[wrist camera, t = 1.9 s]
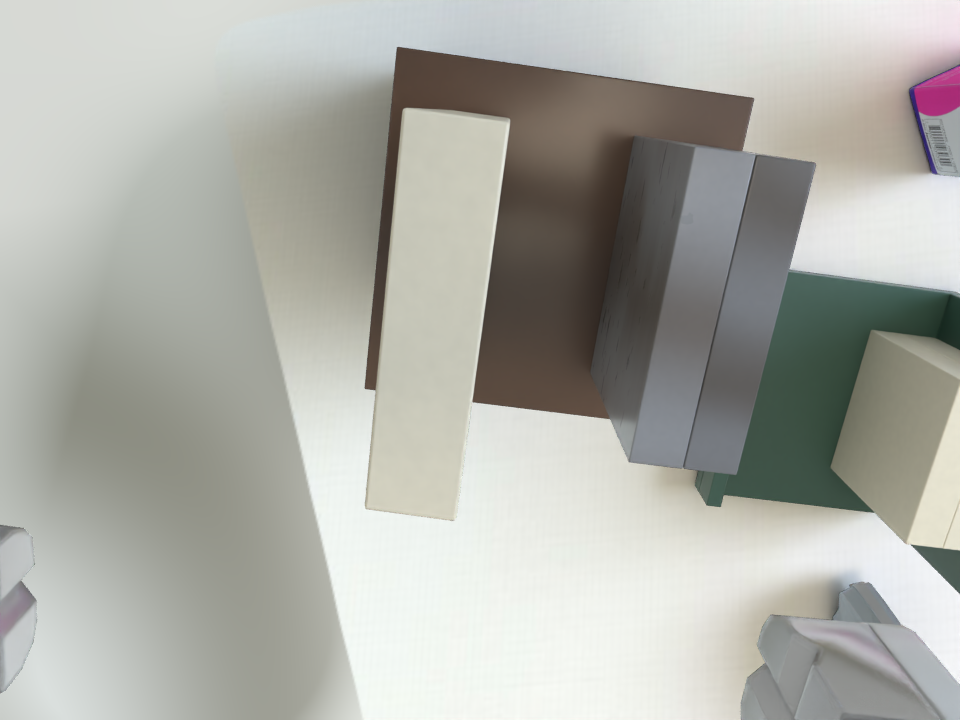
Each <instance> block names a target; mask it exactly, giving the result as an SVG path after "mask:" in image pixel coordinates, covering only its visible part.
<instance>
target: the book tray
mask: <svg viewBox="0 0 960 720" xmlns="http://www.w3.org/2000/svg"><path fill="white" fill-rule="evenodd" d="M695 486H696V488H697V490H698V491H699V493H700V495H701V496H702V498H703V500H704V502H705V503H706V505H708V506H716V507H721V503H722V499H723V495H730V496H738V497H747V498H755V499H763V500H772V501H780V502H789V503H797V504H805V505H814V506H822V507H831V508H839V509H847V510H856V511H864V512H872V513H876V514H877V515H878V516H879V517H880V518H881V520H882V521H883V522H884V523H885V524H886V525H887V526H888V527H889V528H890V529H891V530H892V531H893V532H894V533H895V534H896V535H897V536H898V537H899V538H900V539H901V540H902V541H903V542H904V543H905V544H910V545H912V546H913V547H914V548H915V549H916V550H917V551H918V553H919V554H920V555H921V556H922V557H923V558H924V559H925V560H926V561H927V562H928V563H929V564H930V565H931V566H932V567H933V568H934V569H935V570H936V571H937V572H938V573H939V574H940V575H941V576H942V577H943V578H944V579H945V580H946V581H947V582H948V583H949V584H950V585H951V586H952V587H953V588H954V589H955V590H956V591H957V592H958V593H959V594H960V294H959V293H957V292H952V291H944V290H937V289H929V288H922V287H914V286H907V285H899V284H892V283H884V282H877V281H869V280H862V279H854V278H847V277H839V276H832V275H824V274H817V273H809V272H802V271H794V270H789V272H788V276H787V280H786V284H785V288H784V292H783V295H782V299H781V303H780V307H779V311H778V315H777V319H776V323H775V327H774V330H773V334H772V338H771V342H770V346H769V350H768V354H767V358H766V362H765V365H764V369H763V373H762V377H761V381H760V385H759V389H758V393H757V397H756V401H755V404H754V408H753V412H752V416H751V420H750V424H749V428H748V432H747V436H746V439H745V443H744V447H743V451H742V455H741V459H740V463H739V467H738V471H737V474H736V475H732V474H723V473H715V472H707V471H698V475H697V479H696V483H695Z"/></svg>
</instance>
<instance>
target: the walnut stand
mask: <svg viewBox="0 0 960 720" xmlns="http://www.w3.org/2000/svg"><path fill="white" fill-rule="evenodd" d="M753 102H754V98H750V97H743V96H736V95H729V94H722V93H715V92H708V91H702V90H695V89H688V88H681V87H674V86H667V85H660V84H653V83H646V82H639V81H632V80H625V79H618V78H611V77H604V76H597V75H590V74H583V73H576V72H569V71H562V70H555V69H548V68H541V67H534V66H527V65H520V64H513V63H506V62H499V61H492V60H485V59H478V58H471V57H464V56H458V55H451V54H444V53H437V52H430V51H423V50H416V49H409V48H402V47H397V51H396V62H395V72H394V83H393V93H392V104H391V115H390V125H389V136H388V146H387V157H386V167H385V178H384V189H383V199H382V210H381V220H380V231H379V242H378V252H377V263H376V273H375V284H374V294H373V305H372V316H371V326H370V337H369V347H368V358H367V369H366V379H365V389H370V390H376V383H377V372H378V362H379V351H380V341H381V330H382V320H383V309H384V299H385V288H386V278H387V268H388V257H389V247H390V236H391V226H392V215H393V205H394V194H395V184H396V173H397V163H398V152H399V142H400V131H401V121H402V111H403V109H404V108H421V109H439V110H454V111H461V112H469V113H476V114H483V115H491V116H498V117H505V118H509V119H510V128H509V136H508V143H507V150H506V158H505V165H504V172H503V180H502V187H501V194H500V202H499V209H498V217H497V224H496V231H495V239H494V246H493V253H492V261H491V268H490V275H489V283H488V290H487V297H486V305H485V312H484V319H483V327H482V334H481V342H480V349H479V356H478V364H477V371H476V378H475V386H474V393H473V400H472V402H475V403H484V404H492V405H500V406H508V407H516V408H524V409H532V410H540V411H549V412H557V413H565V414H573V415H581V416H589V417H597V418H605V419H610V420H611V422H612V424H613V427H614V429H615V431H616V434H617V436H618V438H619V440H620V443H621V445H622V447H623V450H624V452H625V454H626V457H627V459H628V461H629V462H631V463H639V464H648V465H656V466H664V467H672V468H684V469H690V470H699V471H707V472H715V473H723V474H732V475H736V474H737V471H738V467H739V463H740V459H741V455H742V451H743V447H744V443H745V439H746V436H747V432H748V428H749V424H750V420H751V416H752V412H753V408H754V404H755V401H756V397H757V393H758V389H759V385H760V381H761V377H762V373H763V369H764V365H765V362H766V358H767V354H768V350H769V346H770V342H771V338H772V334H773V330H774V327H775V323H776V319H777V315H778V311H779V307H780V303H781V299H782V295H783V292H784V288H785V284H786V280H787V276H788V272H789V268H790V264H791V260H792V257H793V253H794V249H795V245H796V241H797V237H798V233H799V229H800V225H801V222H802V218H803V214H804V210H805V206H806V202H807V198H808V194H809V190H810V187H811V183H812V179H813V175H814V171H815V167H816V163H814V162H808V161H802V160H796V159H789V158H783V157H777V156H771V155H764V154H758V153H752V152H745V151H742V150H743V146H744V141H745V137H746V133H747V128H748V124H749V120H750V115H751V111H752V106H753Z"/></svg>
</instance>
